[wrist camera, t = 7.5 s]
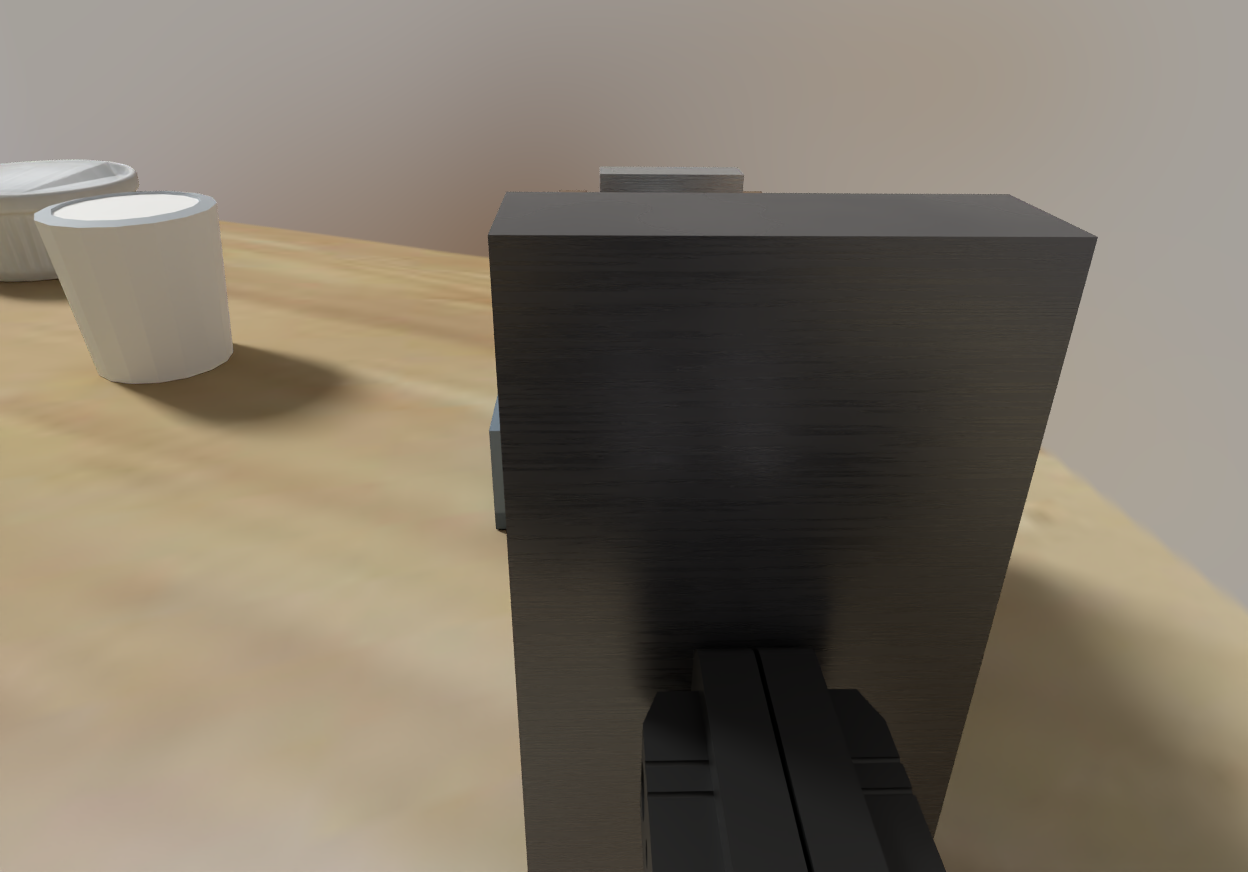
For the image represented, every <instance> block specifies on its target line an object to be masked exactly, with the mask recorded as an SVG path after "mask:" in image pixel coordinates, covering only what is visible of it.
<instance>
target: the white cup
mask: <svg viewBox="0 0 1248 872" xmlns="http://www.w3.org/2000/svg"><path fill="white" fill-rule="evenodd" d="M34 221H35V224H36V226H37V229H38V231H39V233H40V236H41V238H42V240H43V243H44V245H45V248H46V250H47V252H48V255H49V257H50V259H51V262H52V264H53V267H54V269H55V271H56V274H57V276H58V279H59V281H60V283H61V286H62V288H63V290H64V293H65V295H66V298H67V300H68V302H69V305H70V307H71V310H72V312H73V314H74V317H75V319H76V321H77V324H78V326H79V329H80V331H81V333H82V336H83V338H84V340H85V343H86V345H87V348H88V350H89V352H90V355H91V357H92V360H93V362H94V364H95V367H96V369H97V371H98V374H99V375H100V376H102V377H104V378H106V379H108V380H110V381H113V382H121V383H129V384H144V383H161V382H167V381H173V380H178V379H184V378H189V377H192V376H195V375H198V374H201V373H204V372H207V371H210V370H212V369H214V368H216V367H217V366H219V365H221V364H223V363H224V362H226V361H228V359H229V358H230V356H231V355H232V353H233V343H232V334H231V325H230V316H229V307H228V298H227V289H226V280H225V271H224V262H223V253H222V244H221V235H220V226H219V217H218V208H217V202H216V201H215V200H214V198H213V197H210V196H206V195H202V194H198V193H189V192H175V191H137V192H124V193H113V194H105V195H98V196H92V197H85V198H80V199H74V200H71V201H67V202H63V203H59V204H55V205H51V206H48V207H46V208H44V209H42V210H40V211H38V212H36V213H34Z"/></svg>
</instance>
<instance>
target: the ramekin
mask: <svg viewBox="0 0 1248 872" xmlns="http://www.w3.org/2000/svg"><path fill="white" fill-rule="evenodd" d="M138 187H139V181H138V176H137V173H136V171H135V170H134V169H133V168H132V167H130V166H128V165H125V164H120V163H115V162H109V161H97V160H44V161H29V162H16V163H4V164H0V281H6V282H21V281H40V280H50V279H58V276H57V274H56V271H55V269H54V267H53V264H52V262H51V259H50V257H49V255H48V252H47V250H46V248H45V245H44V243H43V240H42V238H41V236H40V233H39V231H38V229H37V226H36V224H35V221H34V213H36V212H38V211H40V210H42V209H44V208H46V207H48V206H51V205H55V204H59V203H63V202H67V201H71V200H74V199H80V198H85V197H92V196H98V195H105V194H113V193H124V192H136V190H137V189H138Z"/></svg>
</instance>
